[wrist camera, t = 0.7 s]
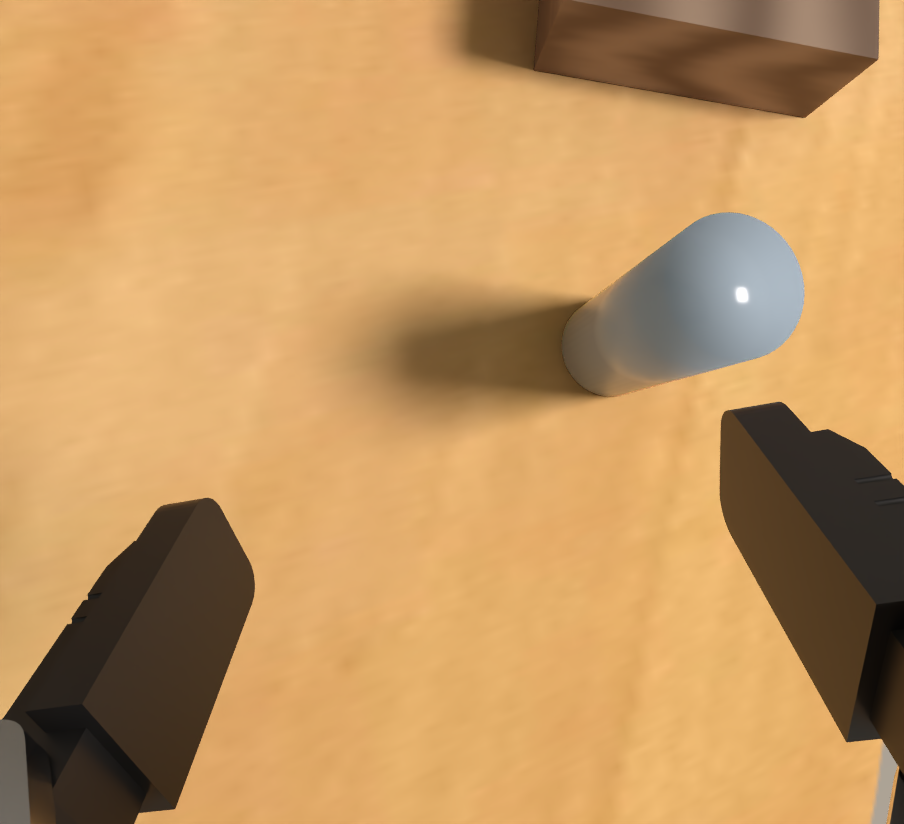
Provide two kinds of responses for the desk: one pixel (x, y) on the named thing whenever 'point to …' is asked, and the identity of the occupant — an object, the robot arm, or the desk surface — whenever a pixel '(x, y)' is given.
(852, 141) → the desk surface
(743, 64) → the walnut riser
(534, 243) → the desk surface
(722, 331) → the pale blue cylinder
